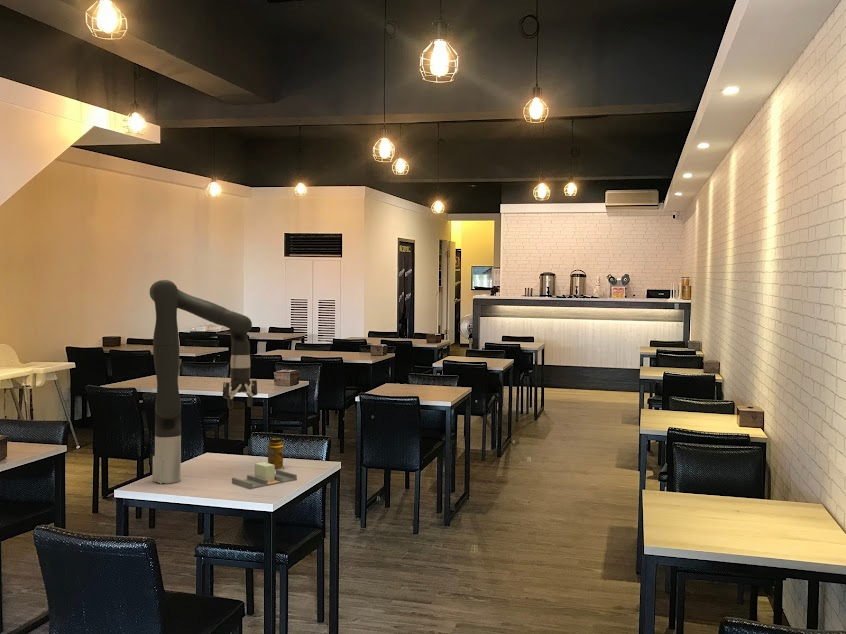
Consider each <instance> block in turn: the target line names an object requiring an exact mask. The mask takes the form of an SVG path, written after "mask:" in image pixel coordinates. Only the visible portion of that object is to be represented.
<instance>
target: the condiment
mask: <svg viewBox="0 0 846 634" xmlns="http://www.w3.org/2000/svg"><path fill="white" fill-rule="evenodd" d="M267 463H269V464H273V465H275V471H276V470H281V469H280V468H283V467H284V445H283V438H282V437H270V438H269V440H268V445H267Z"/></svg>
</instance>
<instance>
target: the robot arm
mask: <svg viewBox="0 0 846 634" xmlns="http://www.w3.org/2000/svg"><path fill="white" fill-rule="evenodd" d="M149 296H150V298H151V300H152V301H153V302H154V307H155V326H154V330H153V336H152V338H153V339H152V352H153V363H154V364H153V365H154V370H155V377H156V399H155V403H154V404H155V405H154V407H155V408H154V418H155V419H154V455H153V456H152V480H151V481H152V482H153V481H155V482H154V483H156V482H158V483H157V484H159V483H160V484H159V485H161V484H162V483H165V484H174V483H178V482H180V481H181V479H182V478H181V474H182V473H181V472H182V471H181V468H182V467H181V466H182V465H181V464H182V460H181V459H182V449H181V448H182V400H181V398H180V390H179V369H180V338H179V337H180V336H179V327H178V319H177V315H178V314H177V312H178V309H179V310H182V311H185V312H188V313H190V314H193V315H195V316H197V317H198V318H201V319H203V320H205V321H208V322H210V323H213V324H215V325H218V326H222V327H225V328H227V329H229V334H230V335H229V336H230V341H231V349H230V352H231V356H230V382H227V381H224V382H223V383H222V398H224V399H227V400H226V402H227V403H226V405H227V408H228V409H230V410H233V409H234V397H235V396H236V395H237V393H244V394H246V396H247V397H246V404H247V405H246V407H248V408H251V407H253V404H254V403H253V402H254V397H255V396H258V380H255V379H250V378H251V357H250V356H251V352H250V351H251V345H250V344H251V343H250V340H249V339H248V332H250V331H251V329H252V327H253V323H252V319H250V318H249V317H248V316H247V315H244V314H242V313H239V312H235V311H233V310H229V309H228V308H225V307H224V306H221V305H219V304H216V303H214V302H211V301H208V300H205V299H202V298H199V297H196V296H194V295H193V296H192V295H191V294H188V293H186V292H184V291H181V290H180V289H179V288H178V286H177V285H176V284H175V282H173V281H171V280H169V279H162V280H157V281H155V282H154V283H152V285H151V286H150V287H149Z"/></svg>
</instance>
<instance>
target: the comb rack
mask: <svg viewBox="0 0 846 634" xmlns="http://www.w3.org/2000/svg"><path fill="white" fill-rule="evenodd" d="M292 481H297V474H295V473H292V472H288V471H284V470H282V469H277V470H275V481H271V482H268V480H265V479H262V478H259V477H255V475H251V474H246V479H245V478H244V479H240V478H237V477H231V484H232V485H237V486H239V487H243V488H245V489H249V490H252V489H258V488H262V487H267V486H273V485H278V484H283V483H287V482H288V483H289V482H292Z"/></svg>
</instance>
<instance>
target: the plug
mask: <svg viewBox="0 0 846 634" xmlns="http://www.w3.org/2000/svg"><path fill="white" fill-rule="evenodd" d="M275 474H276V470H275V465H273V464H269V463H268V462H265V461H262V462H258V463H257V462H256V463H254V476H255V477H259V478H262V479H265V480H268V482H271V481H275Z"/></svg>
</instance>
